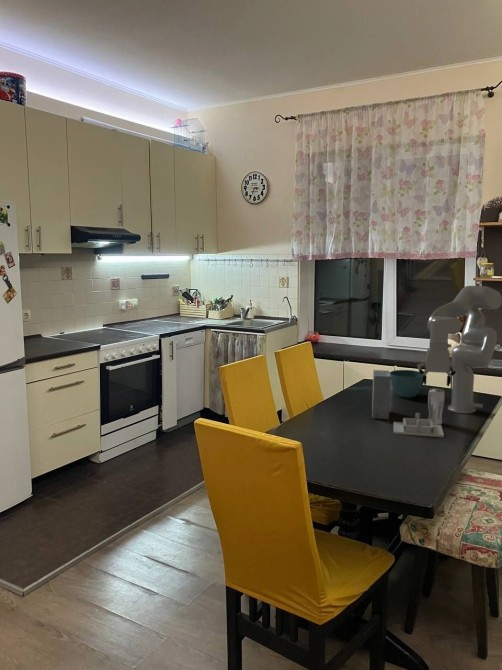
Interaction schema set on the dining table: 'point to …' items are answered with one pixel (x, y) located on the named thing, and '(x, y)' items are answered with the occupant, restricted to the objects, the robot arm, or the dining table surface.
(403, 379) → the teal bowl
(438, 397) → the beer glass
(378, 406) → the hard drive box
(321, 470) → the dining table surface
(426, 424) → the tray
